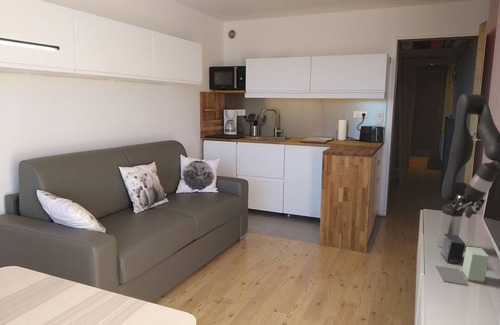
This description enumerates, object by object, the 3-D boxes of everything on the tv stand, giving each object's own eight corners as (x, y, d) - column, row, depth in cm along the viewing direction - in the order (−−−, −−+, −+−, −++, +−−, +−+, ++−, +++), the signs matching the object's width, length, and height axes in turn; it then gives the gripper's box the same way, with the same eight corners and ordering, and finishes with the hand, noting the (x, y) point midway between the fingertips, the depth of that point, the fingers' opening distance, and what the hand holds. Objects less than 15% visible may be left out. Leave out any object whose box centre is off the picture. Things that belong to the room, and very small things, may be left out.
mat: (435, 266, 168) (435, 265, 168) (457, 269, 167) (457, 269, 166) (443, 281, 155) (443, 280, 155) (467, 285, 153) (468, 284, 153)
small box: (462, 265, 171) (466, 243, 169) (446, 263, 173) (450, 241, 170) (454, 255, 182) (458, 234, 179) (440, 253, 183) (443, 232, 181)
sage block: (461, 272, 164) (466, 246, 162) (476, 274, 163) (482, 248, 161) (467, 281, 157) (472, 254, 154) (483, 283, 156) (489, 256, 153)
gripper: (485, 183, 168) (466, 212, 176) (459, 179, 164) (441, 209, 171) (497, 193, 162) (477, 222, 170) (472, 189, 158) (452, 220, 165)
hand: (459, 216), depth 170 cm, fingers open, 8 cm apart
